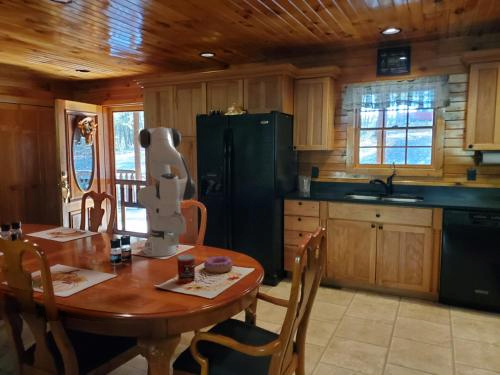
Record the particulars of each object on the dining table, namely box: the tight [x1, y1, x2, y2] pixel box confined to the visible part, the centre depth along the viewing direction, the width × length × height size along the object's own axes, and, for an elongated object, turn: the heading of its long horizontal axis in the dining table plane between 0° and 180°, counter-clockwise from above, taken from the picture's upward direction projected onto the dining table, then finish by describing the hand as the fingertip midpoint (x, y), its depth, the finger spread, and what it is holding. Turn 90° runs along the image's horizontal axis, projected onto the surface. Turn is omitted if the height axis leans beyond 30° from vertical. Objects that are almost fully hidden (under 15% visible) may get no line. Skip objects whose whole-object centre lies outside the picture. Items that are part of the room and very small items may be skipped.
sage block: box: [164, 233, 180, 246], centre depth 168 cm, size 5×5×5 cm
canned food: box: [177, 253, 196, 284], centre depth 172 cm, size 8×8×11 cm
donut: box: [203, 255, 234, 274], centre depth 187 cm, size 14×14×5 cm
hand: (171, 240), depth 168 cm, fingers closed on sage block, 5 cm apart
